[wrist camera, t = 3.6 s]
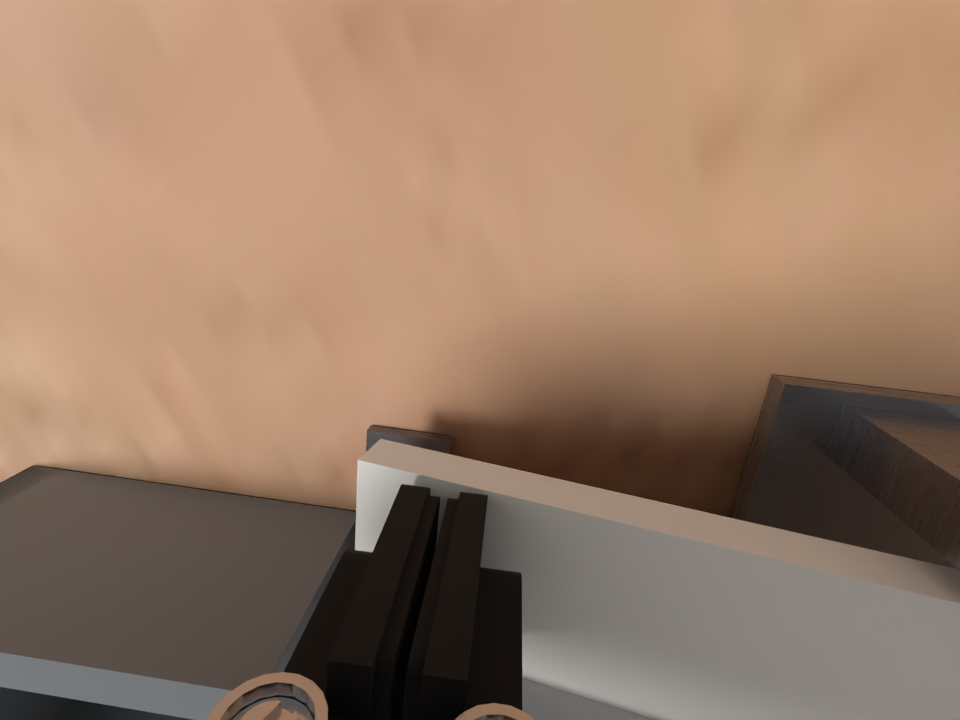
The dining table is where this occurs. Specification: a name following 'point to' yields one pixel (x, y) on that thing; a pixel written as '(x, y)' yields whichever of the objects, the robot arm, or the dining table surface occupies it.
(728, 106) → the dining table surface
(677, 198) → the dining table surface
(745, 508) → the stand
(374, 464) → the seesaw
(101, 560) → the grey open cubby box
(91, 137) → the dining table surface
